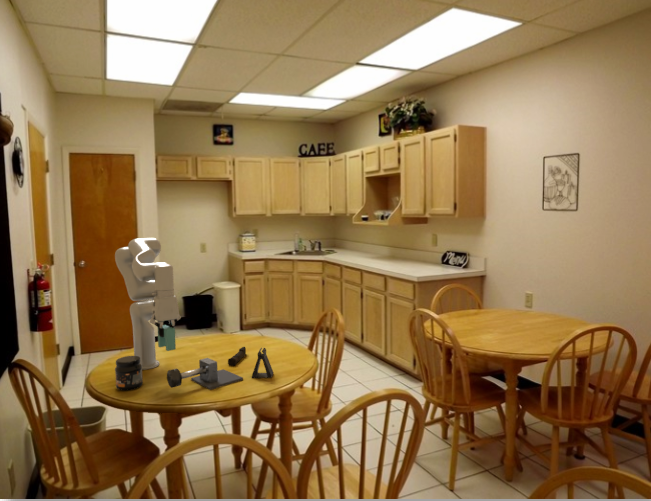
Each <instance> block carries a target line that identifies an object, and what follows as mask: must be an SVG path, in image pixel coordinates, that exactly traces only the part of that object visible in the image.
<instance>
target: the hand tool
mask: <svg viewBox="0 0 651 501" xmlns="http://www.w3.org/2000/svg"><path fill="white" fill-rule="evenodd" d="M246 352H247V350H246V347H245V346H241V348H239V349H238V352H237V353H235V354H234V355H233V356H232V357H230V358H228V359H227V364H228V366H229V367H234V366H236V365H237V363H238V362H239V361H240V360H242V359H243V358H245V356H246Z"/></svg>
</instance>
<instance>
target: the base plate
mask: <svg viewBox="0 0 651 501" xmlns="http://www.w3.org/2000/svg"><path fill="white" fill-rule="evenodd" d="M217 371H218V381H217V382H214V383H210V384H209V383H207V382H205V381H203V380H201V379H200V375H196V376H192V377H190V379H191V381H192V382H194V383H196V384H198V385H200V386H202V387H203V388H206V389H208V390H209V391H211V390H214V389H218V388H221V387H225V386H227V385H231V384H235V383H237V382H240V381H244V377H242V376H240V375H238V374H235V373H234V372H232V371H231V372H230V371H229V370H226V369H224V368H223V369H219V370H217Z"/></svg>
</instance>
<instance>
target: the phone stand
mask: <svg viewBox="0 0 651 501" xmlns="http://www.w3.org/2000/svg"><path fill="white" fill-rule="evenodd" d="M261 360H262V364H263V365H264V369H265V372H259V369H260V364H261ZM273 375H274V371H273V368H272V365H271V362H270V360H269V358H268V355H267V348H265V347H263V348H262V347H261V348H259V351H258V352H257V360H256V363H255V366H254V368H253V370H252V375H251V379H272V378H273Z"/></svg>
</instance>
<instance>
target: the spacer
mask: <svg viewBox="0 0 651 501" xmlns="http://www.w3.org/2000/svg"><path fill="white" fill-rule="evenodd" d="M163 328H164V337H160V336H159V333H158V332H157V343H158V344H157V345H158V347H159V348H165V351H167V352H169V351H174V350H176V347H177V346H176V328H175V327H174V328H172V327H169V325H167V324H163Z"/></svg>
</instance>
